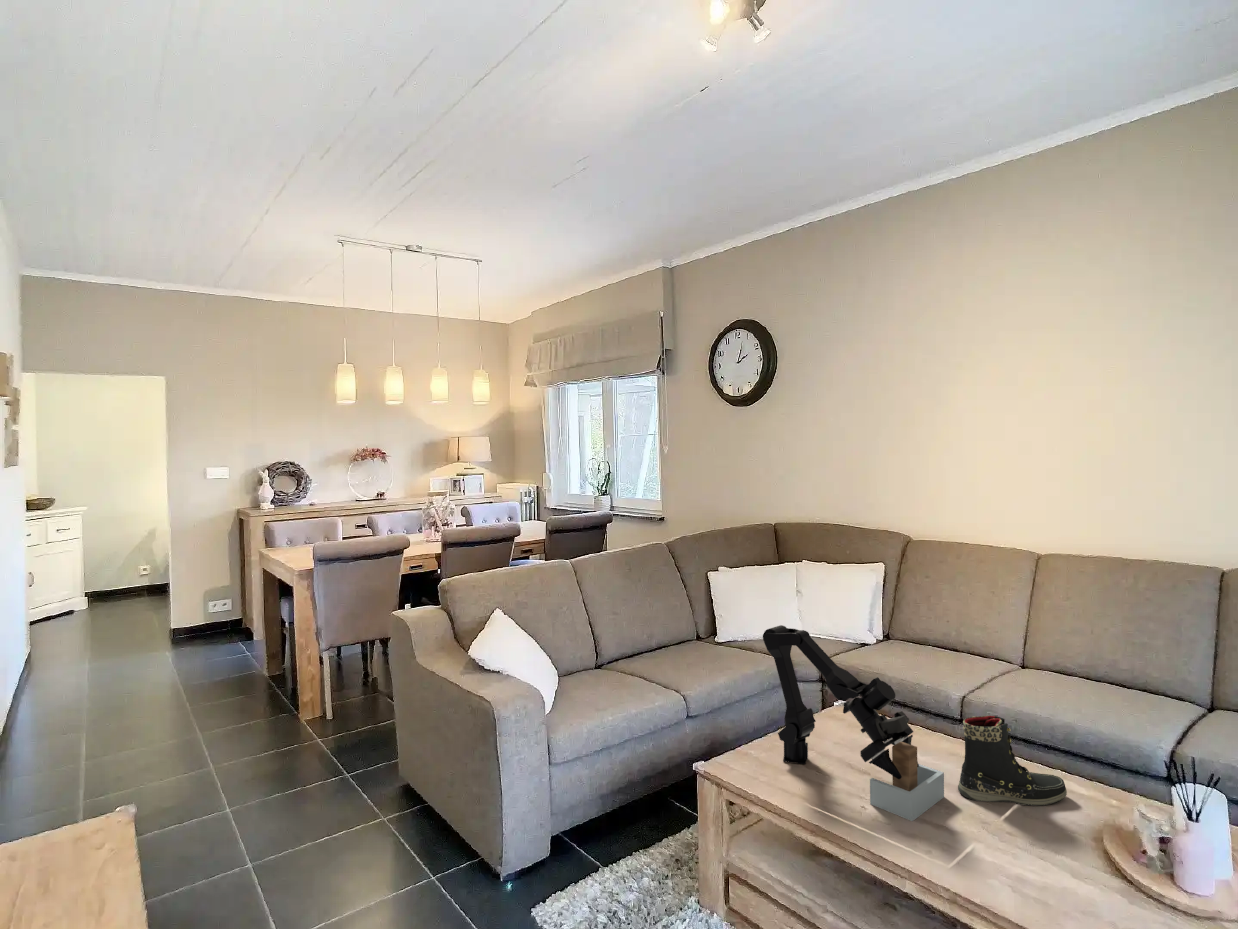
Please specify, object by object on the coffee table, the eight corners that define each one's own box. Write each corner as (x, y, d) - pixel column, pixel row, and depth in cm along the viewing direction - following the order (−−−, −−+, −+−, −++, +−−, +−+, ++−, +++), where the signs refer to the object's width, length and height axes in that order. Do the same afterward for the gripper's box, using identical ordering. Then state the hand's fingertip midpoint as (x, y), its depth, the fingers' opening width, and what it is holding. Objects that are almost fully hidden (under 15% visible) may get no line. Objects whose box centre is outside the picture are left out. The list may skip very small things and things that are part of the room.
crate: (870, 806, 179) (869, 779, 179) (903, 783, 190) (902, 758, 190) (912, 823, 170) (911, 795, 170) (944, 798, 182) (943, 772, 182)
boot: (1075, 802, 179) (1074, 724, 178) (985, 816, 173) (985, 735, 173) (1036, 780, 191) (1036, 707, 190) (952, 791, 185) (951, 716, 185)
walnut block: (892, 799, 181) (892, 746, 181) (901, 793, 184) (900, 741, 184) (909, 806, 178) (908, 752, 177) (917, 799, 180) (917, 746, 180)
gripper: (870, 713, 177) (912, 769, 169) (905, 694, 189) (947, 747, 181) (843, 734, 183) (883, 790, 175) (879, 715, 196) (918, 767, 187)
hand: (909, 772), depth 180 cm, fingers open, 9 cm apart
